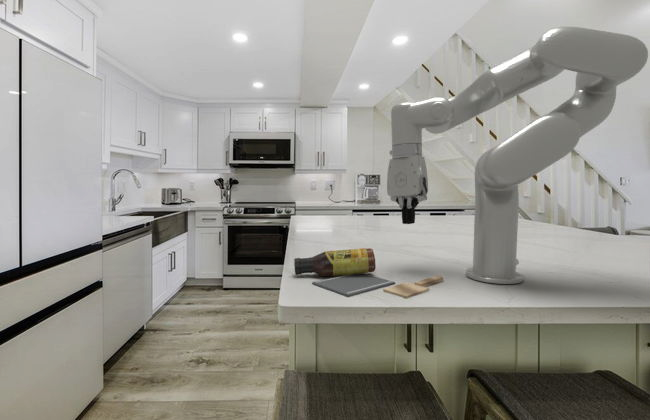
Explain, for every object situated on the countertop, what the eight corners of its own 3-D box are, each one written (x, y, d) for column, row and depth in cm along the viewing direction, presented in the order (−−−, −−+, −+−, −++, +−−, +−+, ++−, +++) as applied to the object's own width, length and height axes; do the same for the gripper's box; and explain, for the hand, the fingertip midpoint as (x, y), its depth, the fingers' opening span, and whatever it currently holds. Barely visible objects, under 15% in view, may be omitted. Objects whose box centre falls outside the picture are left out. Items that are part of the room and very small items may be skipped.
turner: (429, 277, 85) (429, 273, 85) (451, 283, 80) (451, 278, 80) (383, 291, 74) (383, 287, 74) (406, 299, 70) (406, 294, 70)
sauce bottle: (376, 251, 83) (293, 258, 82) (377, 276, 84) (295, 283, 83) (370, 244, 90) (293, 251, 88) (371, 267, 91) (295, 274, 89)
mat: (358, 273, 89) (358, 271, 89) (395, 283, 80) (395, 281, 80) (311, 283, 79) (312, 281, 79) (348, 296, 70) (348, 294, 70)
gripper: (375, 155, 93) (377, 223, 94) (423, 148, 81) (424, 226, 82) (393, 156, 97) (394, 221, 98) (441, 150, 86) (442, 223, 87)
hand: (408, 223), depth 90 cm, fingers closed
